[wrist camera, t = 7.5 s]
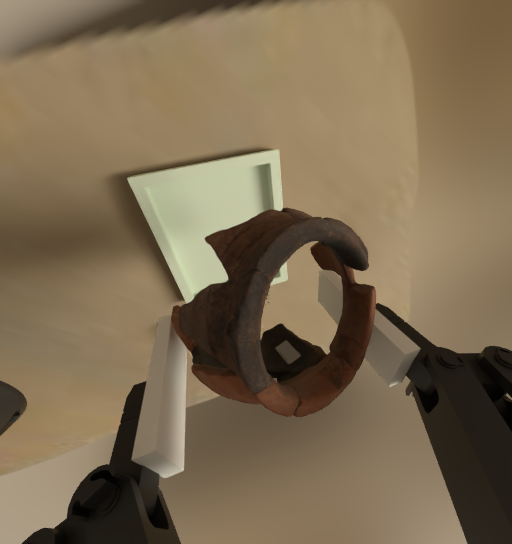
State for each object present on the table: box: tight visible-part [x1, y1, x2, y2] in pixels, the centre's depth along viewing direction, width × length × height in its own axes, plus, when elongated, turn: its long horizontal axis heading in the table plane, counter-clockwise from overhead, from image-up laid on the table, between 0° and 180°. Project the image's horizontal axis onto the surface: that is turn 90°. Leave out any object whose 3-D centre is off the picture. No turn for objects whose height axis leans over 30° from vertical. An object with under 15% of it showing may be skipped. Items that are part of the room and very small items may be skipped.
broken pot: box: [171, 208, 376, 417], centre depth 11 cm, size 12×9×8 cm
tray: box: [127, 149, 288, 304], centre depth 23 cm, size 14×16×2 cm
